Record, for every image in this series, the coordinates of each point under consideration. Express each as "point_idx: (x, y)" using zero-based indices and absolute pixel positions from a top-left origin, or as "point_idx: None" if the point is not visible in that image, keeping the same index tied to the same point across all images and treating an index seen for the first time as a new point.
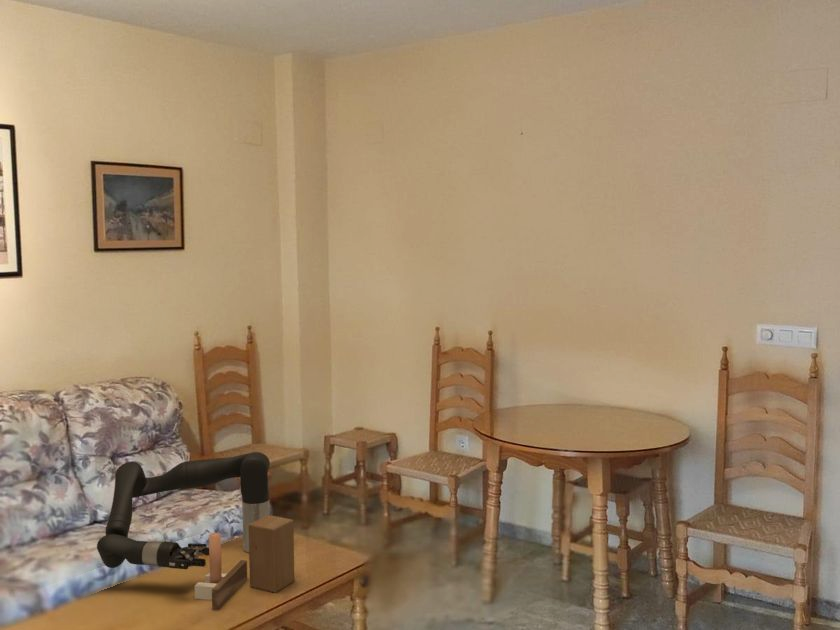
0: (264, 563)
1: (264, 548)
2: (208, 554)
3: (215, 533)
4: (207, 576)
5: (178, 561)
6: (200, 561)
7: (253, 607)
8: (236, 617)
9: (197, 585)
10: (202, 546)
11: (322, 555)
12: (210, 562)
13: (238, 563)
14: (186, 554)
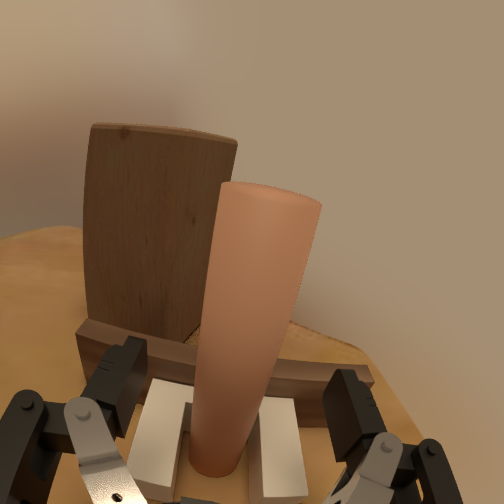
0: (202, 261)
1: (211, 211)
2: (130, 413)
3: (245, 188)
4: (171, 476)
5: (454, 491)
6: (367, 386)
7: (294, 346)
8: (353, 364)
9: (300, 485)
10: (70, 424)
11: (31, 251)
12: (265, 387)
13: (108, 341)
14: (369, 497)
